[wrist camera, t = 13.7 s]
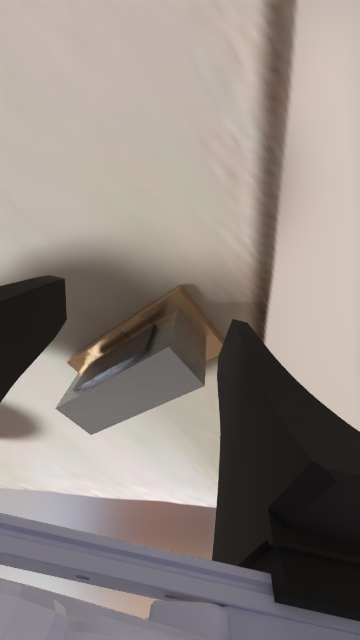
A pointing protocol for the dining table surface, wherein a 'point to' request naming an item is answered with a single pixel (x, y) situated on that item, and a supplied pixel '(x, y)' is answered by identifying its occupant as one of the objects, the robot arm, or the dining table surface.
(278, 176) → the dining table surface
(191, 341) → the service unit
